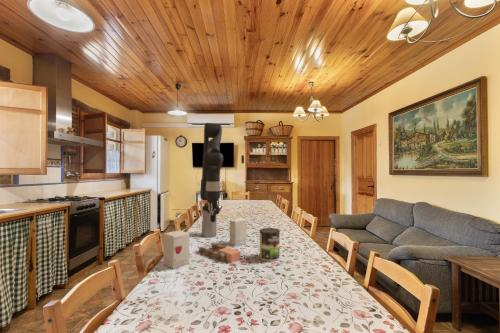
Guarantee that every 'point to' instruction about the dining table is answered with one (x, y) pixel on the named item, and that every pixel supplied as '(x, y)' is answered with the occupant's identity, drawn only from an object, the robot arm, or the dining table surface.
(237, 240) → the skincare box
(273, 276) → the dining table surface
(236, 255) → the terracotta block
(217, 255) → the walnut chute
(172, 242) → the supplement box
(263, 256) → the coffee can
